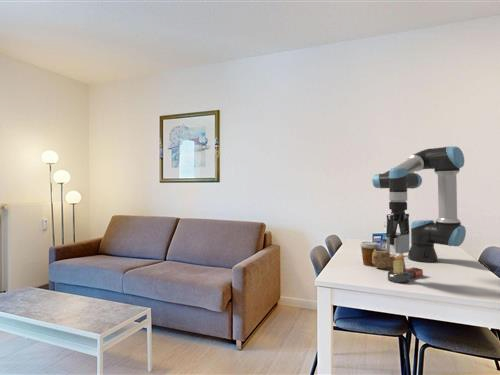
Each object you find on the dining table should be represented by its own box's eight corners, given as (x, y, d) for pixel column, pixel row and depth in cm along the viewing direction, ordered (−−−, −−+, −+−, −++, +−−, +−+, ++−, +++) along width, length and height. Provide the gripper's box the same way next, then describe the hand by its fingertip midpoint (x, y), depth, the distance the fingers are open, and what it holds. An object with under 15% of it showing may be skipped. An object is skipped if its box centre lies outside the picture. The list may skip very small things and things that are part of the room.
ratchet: (409, 272, 151) (409, 254, 151) (427, 277, 143) (427, 258, 143) (383, 279, 141) (383, 260, 141) (401, 284, 133) (401, 264, 133)
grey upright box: (395, 249, 143) (395, 232, 143) (409, 252, 138) (409, 234, 138) (386, 251, 140) (386, 233, 140) (400, 253, 134) (400, 235, 134)
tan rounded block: (407, 272, 151) (407, 252, 151) (373, 270, 156) (373, 251, 156) (403, 267, 160) (403, 249, 160) (371, 265, 164) (371, 247, 164)
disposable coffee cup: (357, 264, 166) (357, 243, 166) (364, 261, 173) (364, 240, 173) (374, 268, 160) (374, 245, 160) (381, 264, 167) (381, 242, 167)
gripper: (403, 200, 147) (403, 247, 147) (377, 201, 137) (377, 251, 137) (418, 201, 141) (418, 250, 141) (392, 202, 130) (392, 255, 131)
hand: (398, 250), depth 139 cm, fingers closed on grey upright box, 7 cm apart
